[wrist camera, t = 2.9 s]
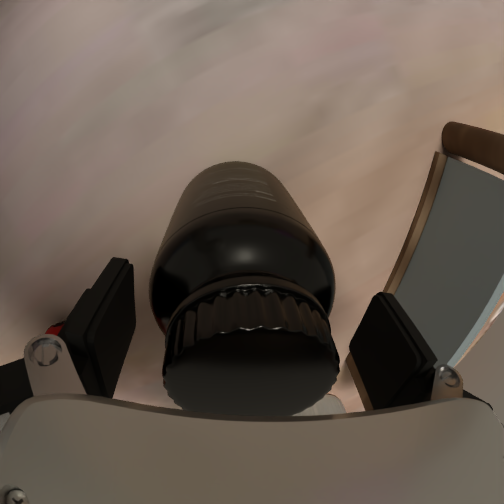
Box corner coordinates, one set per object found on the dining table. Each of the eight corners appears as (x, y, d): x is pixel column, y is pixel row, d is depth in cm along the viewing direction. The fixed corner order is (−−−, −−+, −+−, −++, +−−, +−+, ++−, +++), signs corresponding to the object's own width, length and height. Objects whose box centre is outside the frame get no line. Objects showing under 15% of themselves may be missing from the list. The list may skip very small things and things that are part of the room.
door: (434, 149, 15) (524, 188, 8) (458, 161, 16) (541, 202, 9) (353, 343, 23) (386, 418, 16) (378, 343, 24) (413, 412, 16)
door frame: (443, 114, 15) (605, 171, 3) (468, 130, 15) (611, 192, 4) (345, 359, 25) (390, 480, 14) (370, 358, 25) (418, 469, 14)
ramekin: (284, 432, 32) (288, 460, 28) (258, 405, 28) (263, 439, 24) (348, 411, 31) (358, 438, 27) (337, 379, 27) (349, 413, 23)
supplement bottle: (162, 237, 18) (102, 405, 7) (210, 139, 15) (168, 218, 4) (256, 279, 20) (285, 447, 9) (312, 193, 17) (422, 332, 7)
